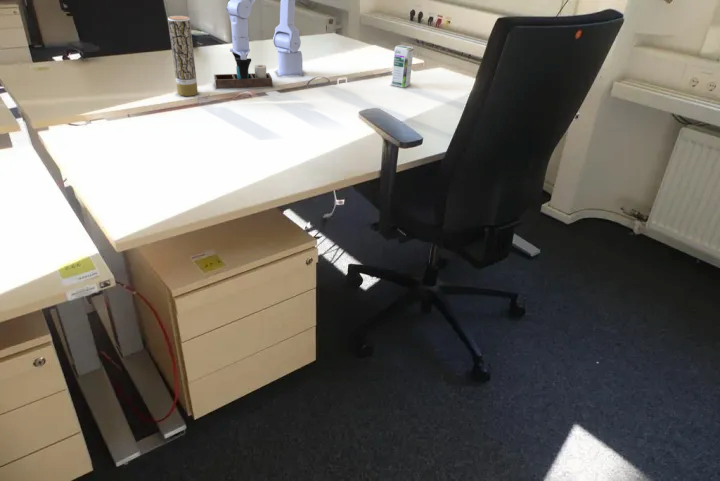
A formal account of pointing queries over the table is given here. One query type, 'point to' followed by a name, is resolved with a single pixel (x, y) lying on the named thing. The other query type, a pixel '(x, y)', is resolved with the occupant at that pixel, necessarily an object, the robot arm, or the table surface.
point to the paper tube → (183, 55)
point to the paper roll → (239, 74)
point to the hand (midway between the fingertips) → (242, 75)
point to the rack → (241, 81)
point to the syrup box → (402, 66)
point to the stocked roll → (260, 71)
